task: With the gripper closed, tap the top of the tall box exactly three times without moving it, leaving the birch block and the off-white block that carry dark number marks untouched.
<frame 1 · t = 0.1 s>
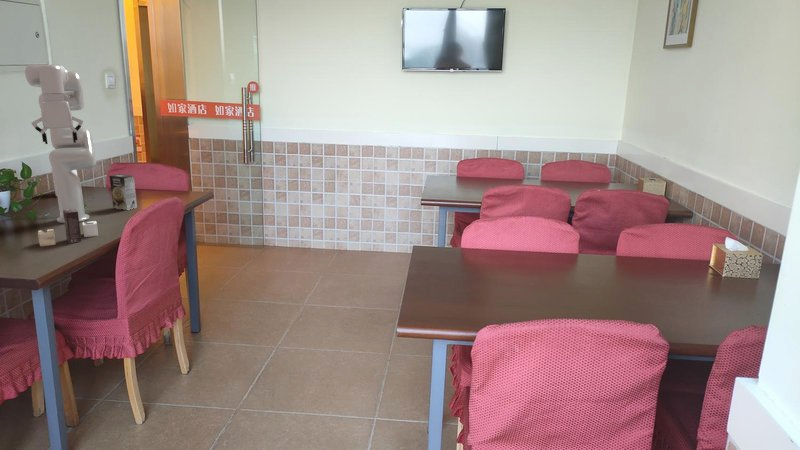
hand: (60, 143, 226), 37 cm above the table, tool pointing down, fingers open, 9 cm apart
offwhite digit block: (91, 234, 233), on the table
box: (74, 241, 226), on the table
coffee box: (125, 208, 277), on the table
supplement box: (68, 194, 306), on the table
birch digit block: (47, 243, 221), on the table
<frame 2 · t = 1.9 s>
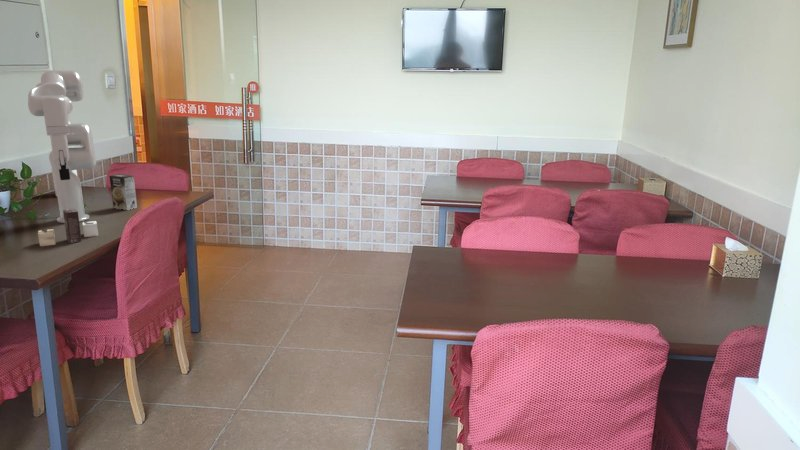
hand: (65, 179, 219), 24 cm above the table, tool pointing down, fingers closed
nothing on the table moved.
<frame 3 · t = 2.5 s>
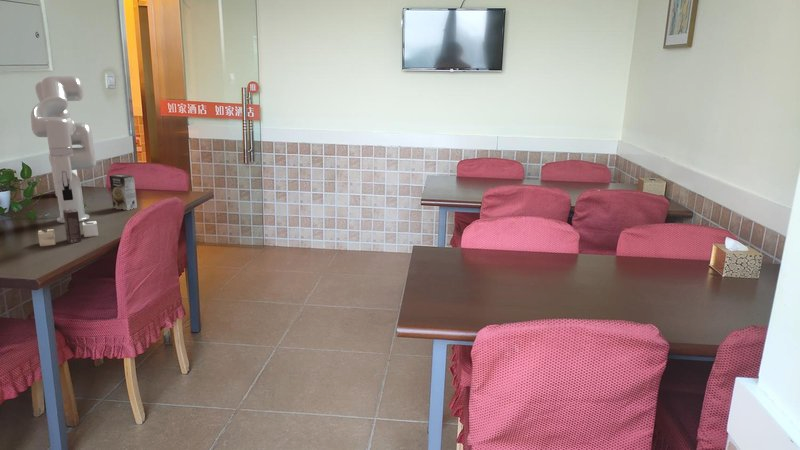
hand: (68, 199, 221), 16 cm above the table, tool pointing down, fingers closed
nothing on the table moved.
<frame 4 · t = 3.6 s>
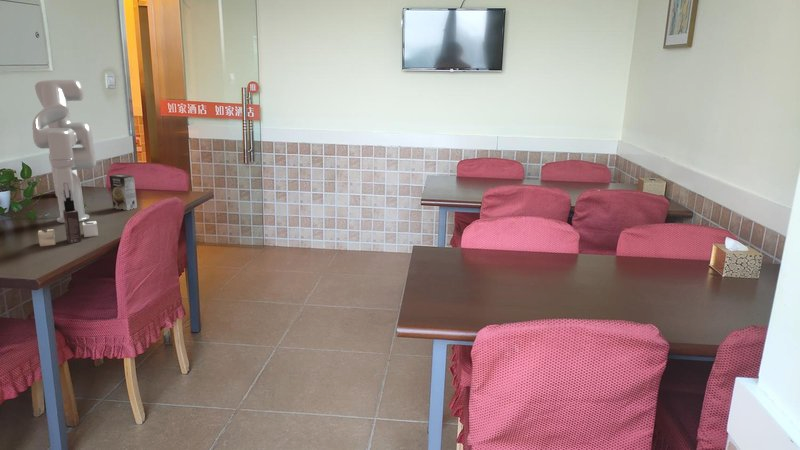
hand: (70, 210, 222), 12 cm above the table, tool pointing down, fingers closed
box: (74, 241, 226), on the table, touching gripper
everything else where it was.
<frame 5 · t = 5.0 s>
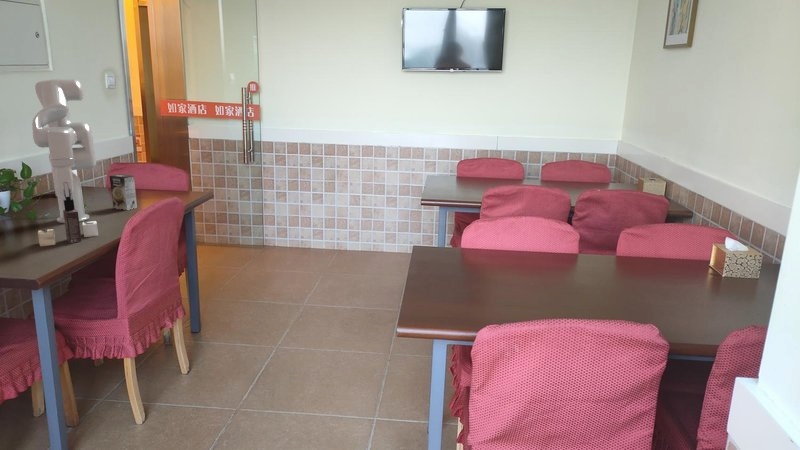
hand: (69, 209, 223), 12 cm above the table, tool pointing down, fingers closed
box: (74, 241, 226), on the table
everything else where it was.
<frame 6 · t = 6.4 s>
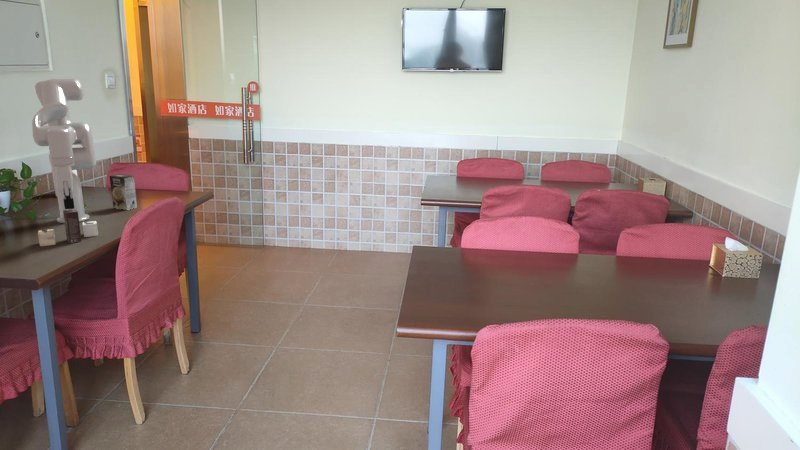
hand: (69, 208, 223), 13 cm above the table, tool pointing down, fingers closed
nothing on the table moved.
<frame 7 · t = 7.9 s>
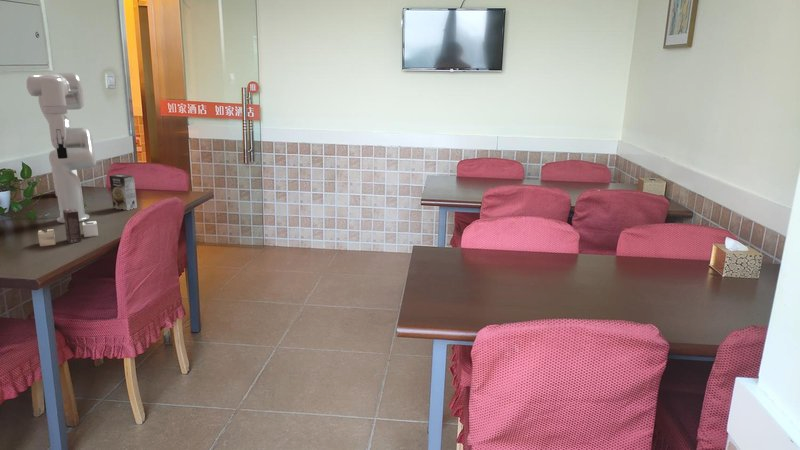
hand: (62, 158, 226), 31 cm above the table, tool pointing down, fingers closed
nothing on the table moved.
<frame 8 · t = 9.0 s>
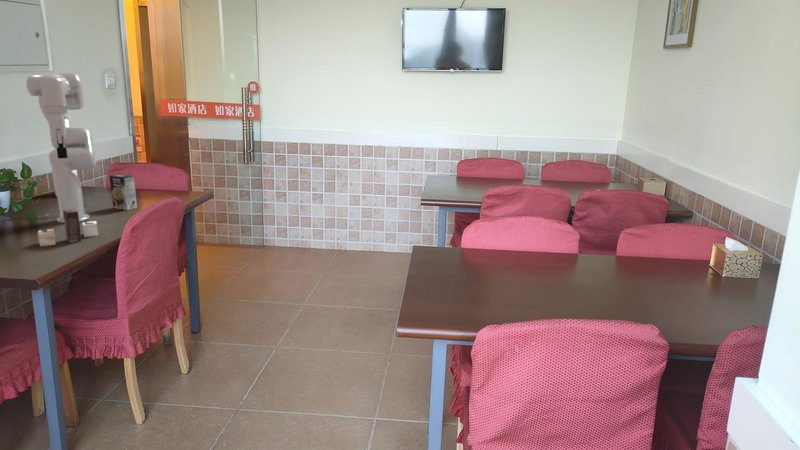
hand: (62, 157, 226), 31 cm above the table, tool pointing down, fingers closed
nothing on the table moved.
at the end: box moved 0.2 cm from its start; box tilted 0°; birch digit block moved 0.1 cm from its start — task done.
